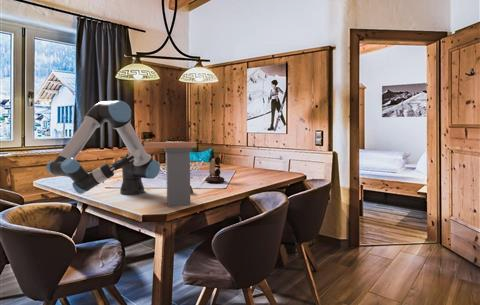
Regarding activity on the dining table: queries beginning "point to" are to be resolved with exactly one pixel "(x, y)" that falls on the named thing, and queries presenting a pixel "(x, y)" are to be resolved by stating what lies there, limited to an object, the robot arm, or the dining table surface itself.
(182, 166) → the pedestal
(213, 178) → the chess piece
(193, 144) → the slat
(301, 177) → the dining table surface
